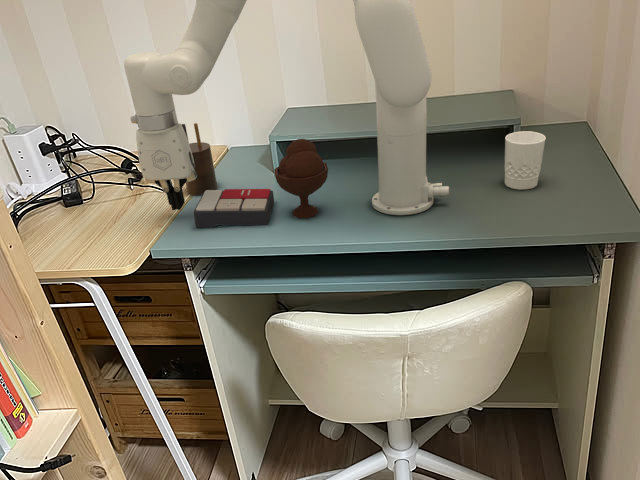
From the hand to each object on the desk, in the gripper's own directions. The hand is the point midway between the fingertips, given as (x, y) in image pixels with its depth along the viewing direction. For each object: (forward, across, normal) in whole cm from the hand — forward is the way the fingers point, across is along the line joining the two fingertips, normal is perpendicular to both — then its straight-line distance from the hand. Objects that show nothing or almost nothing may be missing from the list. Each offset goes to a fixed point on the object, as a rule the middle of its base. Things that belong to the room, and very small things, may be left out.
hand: (178, 207), depth 136 cm
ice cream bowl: (+3, +27, 0) cm, 27 cm away
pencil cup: (+2, +1, +15) cm, 15 cm away
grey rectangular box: (+3, +12, 0) cm, 13 cm away
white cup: (+3, +72, +11) cm, 73 cm away
